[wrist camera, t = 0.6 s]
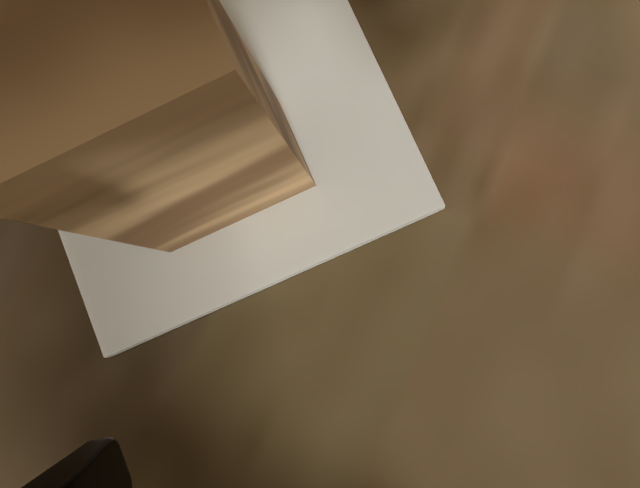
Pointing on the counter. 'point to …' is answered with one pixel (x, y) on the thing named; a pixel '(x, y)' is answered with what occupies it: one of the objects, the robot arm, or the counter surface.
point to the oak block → (137, 121)
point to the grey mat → (291, 214)
